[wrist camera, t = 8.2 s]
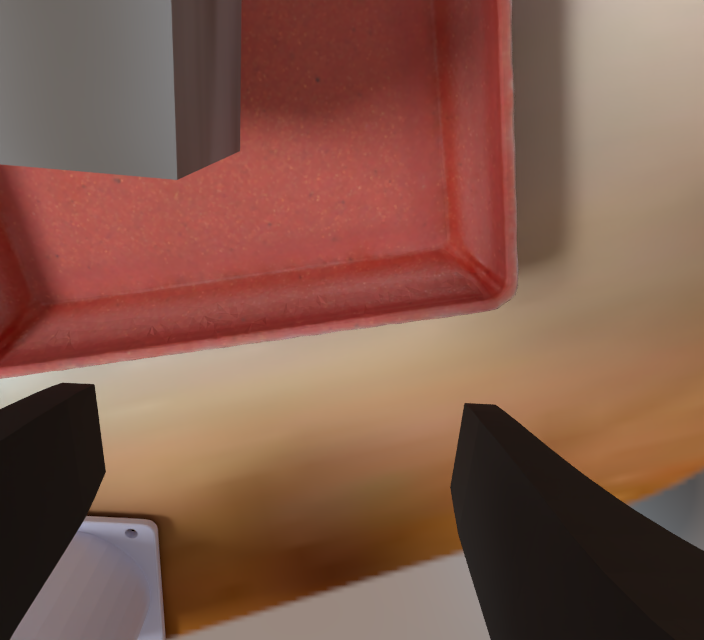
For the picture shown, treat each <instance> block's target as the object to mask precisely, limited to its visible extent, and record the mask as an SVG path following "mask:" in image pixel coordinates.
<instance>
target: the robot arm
mask: <svg viewBox="0 0 704 640" xmlns="http://www.w3.org/2000/svg"><path fill="white" fill-rule="evenodd" d="M105 472H106V470H105V463H104V455H103V447H102V439H101V432H100V424H99V416H98V408H97V401H96V393H95V385H94V384H76V383H60V384H57V385H54V386H52V387H49V388H47V389H44V390H42V391H39V392H37V393H35V394H32V395H30V396H28V397H26V398H24V399H21V400H19V401H17V402H15V403H13V404H11V405H8V406H6V407H4V408H2V409H0V640H166V636H165V622H164V608H163V594H162V580H161V566H160V552H159V539H158V528H157V525H156V524H155V523H154V522H153V521H151V520H147V519H133V518H115V517H96V516H86V515H87V513H88V511H89V509H90V507H91V505H92V502H93V500H94V498H95V496H96V494H97V491H98V489H99V487H100V484H101V482H102V479H103V477H104V475H105ZM450 488H451V494H452V500H453V506H454V513H455V518H456V524H457V529H458V534H459V538H460V541H461V545H462V548H463V551H464V554H465V558H466V561H467V564H468V568H469V571H470V574H471V577H472V580H473V584H474V587H475V590H476V593H477V596H478V600H479V603H480V606H481V609H482V612H483V616H484V619H485V622H486V626H487V629H488V632H489V635H490V638H491V640H704V551H703V550H701V549H699V548H697V547H696V546H694V545H692V544H690V543H689V542H687V541H685V540H683V539H681V538H680V537H678V536H676V535H675V534H673V533H671V532H669V531H668V530H666V529H665V528H663V527H661V526H660V525H658V524H657V523H655V522H653V521H651V520H650V519H648V518H647V517H645V516H643V515H642V514H640V513H639V512H637V511H635V510H634V509H632V508H631V507H629V506H628V505H626V504H625V503H623V502H622V501H620V500H619V499H617V498H616V497H615V496H613V495H612V494H610V493H609V492H607V491H606V490H605V489H603V488H602V487H600V486H599V485H598V484H596V483H595V482H593V481H592V480H591V479H589V478H588V477H586V476H585V475H584V474H582V473H581V472H580V471H578V470H577V469H576V468H574V467H573V466H572V465H571V464H569V463H568V462H567V461H565V460H564V459H563V458H562V457H560V456H559V455H558V454H557V453H555V452H554V451H553V450H552V449H550V448H549V447H548V446H547V445H545V444H544V443H543V442H542V441H540V440H539V439H538V438H537V437H536V436H534V435H533V434H532V433H531V432H529V431H528V430H527V429H526V428H525V427H523V426H522V425H521V424H520V423H518V422H517V421H516V420H515V419H514V418H512V417H511V416H510V415H509V414H507V413H506V412H505V411H503V410H502V409H501V408H499V407H498V406H496V405H491V404H471V403H465V404H464V410H463V416H462V422H461V428H460V433H459V439H458V445H457V451H456V457H455V463H454V469H453V475H452V481H451V487H450ZM130 529H134V530H135V531H136V532H135V531H132V530H130Z"/></svg>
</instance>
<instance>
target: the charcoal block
mask: <svg viewBox="0 0 704 640" xmlns="http://www.w3.org/2000/svg"><path fill="white" fill-rule="evenodd" d="M241 3H242V0H0V164H1V165H13V166H24V167H35V168H47V169H58V170H69V171H81V172H92V173H104V174H115V175H126V176H138V177H149V178H160V179H172V180H178V179H180V178H183V177H185V176H187V175H189V174H191V173H194V172H196V171H198V170H200V169H202V168H204V167H207V166H209V165H211V164H213V163H215V162H218V161H220V160H222V159H224V158H226V157H228V156H231V155H233V154H235V153H237V152H239V151H240V112H241Z"/></svg>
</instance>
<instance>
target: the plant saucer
mask: <svg viewBox="0 0 704 640" xmlns="http://www.w3.org/2000/svg"><path fill="white" fill-rule="evenodd" d="M511 23H512V0H242V3H241V112H240V151H239V152H237V153H235V154H233V155H231V156H228V157H226V158H224V159H222V160H220V161H218V162H215V163H213V164H211V165H209V166H207V167H204V168H202V169H200V170H198V171H196V172H194V173H191V174H189V175H187V176H185V177H183V178H180V179H178V180H172V179H160V178H149V177H138V176H126V175H115V174H104V173H92V172H81V171H69V170H58V169H47V168H35V167H24V166H13V165H1V164H0V379H2V378H9V377H17V376H23V375H30V374H36V373H43V372H49V371H59V370H67V369H72V368H81V367H87V366H94V365H101V364H108V363H114V362H119V361H129V360H136V359H142V358H150V357H157V356H163V355H173V354H180V353H187V352H195V351H200V350H207V349H215V348H225V347H231V346H237V345H242V344H251V343H259V342H265V341H275V340H283V339H289V338H294V337H300V336H311V335H319V334H325V333H331V332H337V331H344V330H353V329H362V328H370V327H377V326H382V325H387V324H401V323H406V322H412V321H419V320H428V319H437V318H445V317H451V316H457V315H466V314H472V313H478V312H485V311H490V310H494V309H498V308H499V307H500V306H501V305H503V304H505V303H506V302H508V301H509V300H510V299H511V298H512V297H513V296H514V295H516V291H517V286H518V256H517V201H516V164H515V137H514V100H515V97H514V74H513V63H512V25H511Z"/></svg>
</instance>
